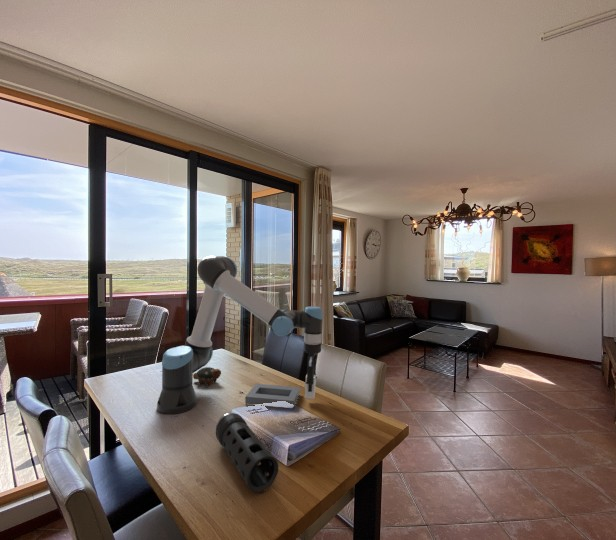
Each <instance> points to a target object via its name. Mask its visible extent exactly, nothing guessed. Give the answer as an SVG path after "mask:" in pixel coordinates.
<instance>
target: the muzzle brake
mask: <svg viewBox="0 0 616 540" xmlns="http://www.w3.org/2000/svg"><path fill="white" fill-rule="evenodd" d="M215 438H216V439H217V441H218V442H219V443H220V446H222V447H223V448H224V450H225V452H226V453H227V455H228V456H229V458H230V460H231V461H232V463H233V464H234V466H235V468H236V470H237V471H238V473H239V474H240V476H241V477H242V480H243V481H244V483H245V484H246V485H247V488H248V489H249V490H250V491H251V492H253V493H259V494H262V493H264V492H265V491H266V490H267V489H268V488H269V487H271V486H272V484H273V483H274V482H275V480H276V478H277V476H278V472H279V462H278V459H276V458H275V457H274V455H273V454H272V452H270V450H269V449H268V447H266V445H264V443H263V442H262V441H261V439H260V438H259V437H258V436H257V435H256V433H254V432H253V430H252V428H250V427H249V426H248V424H247V422H246V421H245V419H244V418H243V417H242V416H241V415H240V414H238V413H234V412H227V413H225V414H223V415H222V416H221V417H220V418H219V419H218V421H217V422H216V426H215Z"/></svg>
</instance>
